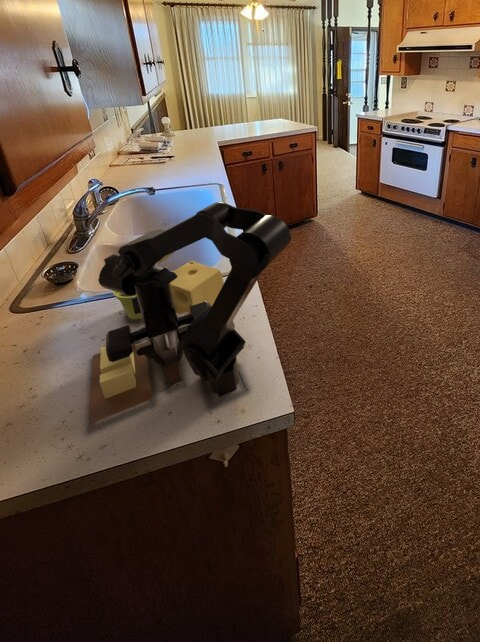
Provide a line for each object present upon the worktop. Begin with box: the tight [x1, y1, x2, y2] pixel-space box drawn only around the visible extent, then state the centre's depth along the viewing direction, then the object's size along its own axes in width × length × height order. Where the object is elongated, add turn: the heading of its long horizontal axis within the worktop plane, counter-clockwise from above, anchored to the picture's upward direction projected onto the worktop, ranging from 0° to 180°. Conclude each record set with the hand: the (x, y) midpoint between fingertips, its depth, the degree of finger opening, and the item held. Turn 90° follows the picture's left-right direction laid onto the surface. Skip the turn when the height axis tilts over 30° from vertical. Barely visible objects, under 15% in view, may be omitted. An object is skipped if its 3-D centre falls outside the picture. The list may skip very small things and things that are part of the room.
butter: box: [100, 345, 135, 374], centre depth 68 cm, size 6×5×4 cm
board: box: [88, 343, 153, 425], centre depth 67 cm, size 17×10×1 cm, turn 29°
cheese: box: [170, 260, 225, 315], centre depth 85 cm, size 10×11×10 cm
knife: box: [162, 333, 183, 386], centre depth 73 cm, size 18×2×3 cm, turn 29°
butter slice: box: [100, 364, 136, 399], centre depth 64 cm, size 2×5×4 cm, turn 120°
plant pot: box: [112, 291, 143, 320], centre depth 83 cm, size 9×9×9 cm
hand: (171, 361), depth 71 cm, fingers open, 3 cm apart
